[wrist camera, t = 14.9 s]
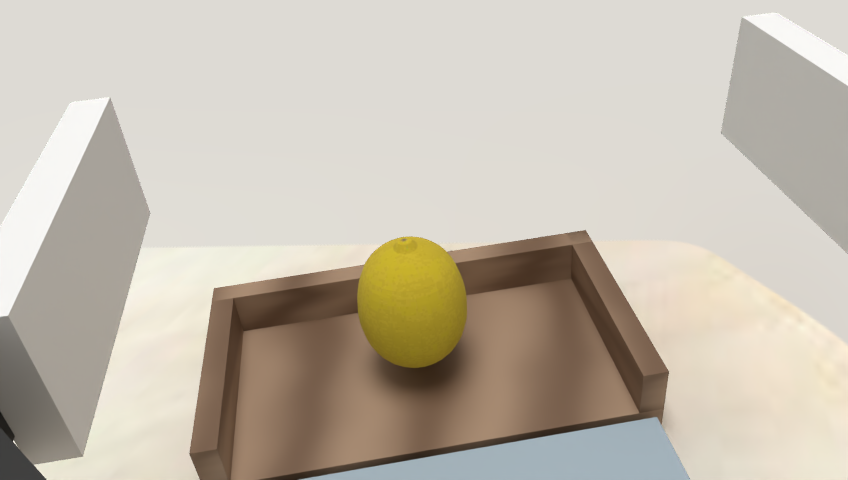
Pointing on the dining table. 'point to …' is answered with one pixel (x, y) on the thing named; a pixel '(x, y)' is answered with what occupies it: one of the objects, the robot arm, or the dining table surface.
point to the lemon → (412, 302)
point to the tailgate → (548, 458)
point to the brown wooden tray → (425, 386)
